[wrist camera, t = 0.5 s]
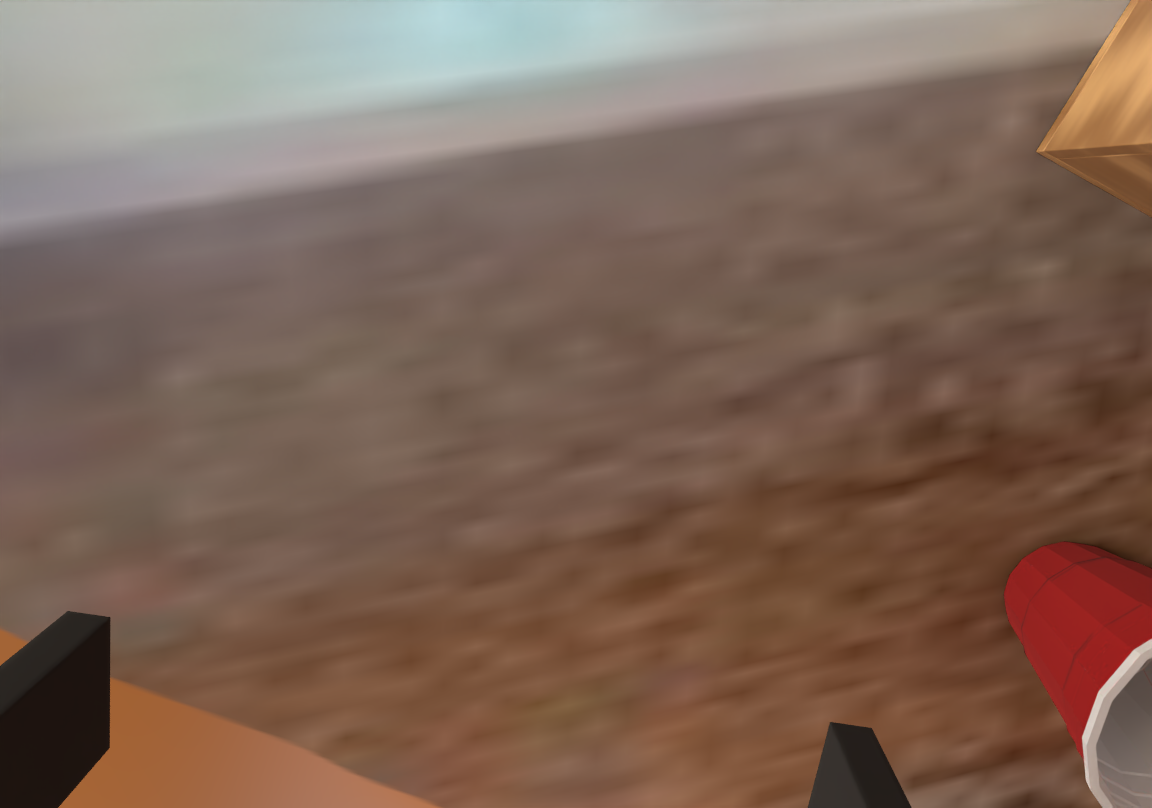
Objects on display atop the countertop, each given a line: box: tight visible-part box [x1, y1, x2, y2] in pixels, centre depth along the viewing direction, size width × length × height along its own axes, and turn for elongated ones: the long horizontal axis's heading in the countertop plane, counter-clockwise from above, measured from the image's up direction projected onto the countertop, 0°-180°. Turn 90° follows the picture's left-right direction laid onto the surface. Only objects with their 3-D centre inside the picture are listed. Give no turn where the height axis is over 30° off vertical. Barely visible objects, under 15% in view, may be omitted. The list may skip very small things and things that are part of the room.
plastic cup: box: [1004, 541, 1152, 808], centre depth 38 cm, size 11×11×12 cm
